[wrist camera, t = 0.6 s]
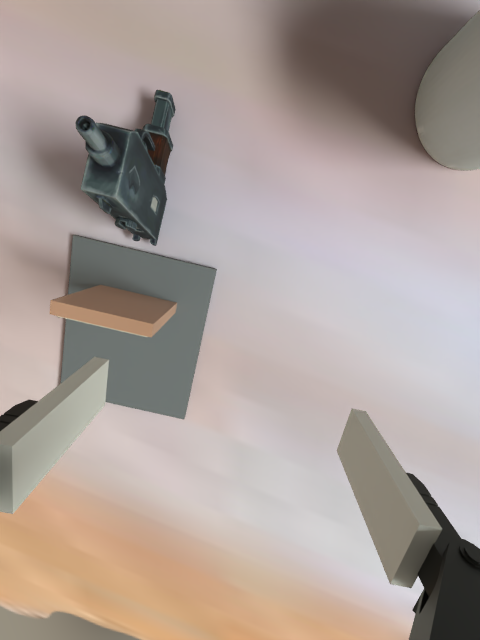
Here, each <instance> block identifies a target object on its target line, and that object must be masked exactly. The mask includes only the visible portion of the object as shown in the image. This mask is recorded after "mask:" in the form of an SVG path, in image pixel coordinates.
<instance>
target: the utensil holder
mask: <svg viewBox="0 0 480 640" xmlns="http://www.w3.org/2000/svg"><path fill="white" fill-rule="evenodd" d="M415 122H416V128H417V132H418V136H419V139H420V141H421V143H422V145H423V147H424V148H425V150H426V151H427V152H428V154H429V155H430V156H431V157H432V158H433V159H434V160H435V161H437V162H438V163H440V164H441V165H443V166H446V167H448V168H451V169H456V170H463V171H465V170H477V169H480V10H479V11H478V12H477V13H476V14H475V15H474V16H473V17H472V18H471V19H470V20H469V21H468V22H467V23H466V24H465V26H464V27H463V28H462V29H461V30H460V31H459V32H458V33H457V34H456V35H455V36H454V37H453V38H452V39H451V40H450V41H449V42H448V43H447V44H446V45H445V46H444V47H443V49H442V50H441V51H440V52H439V53H438V54H437V56H436V57H435V58H434V59H433V61H432V62H431V64H430V65H429V67H428V69H427V70H426V72H425V74H424V77H423V79H422V81H421V84H420V86H419V90H418V93H417V98H416V103H415Z"/></svg>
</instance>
